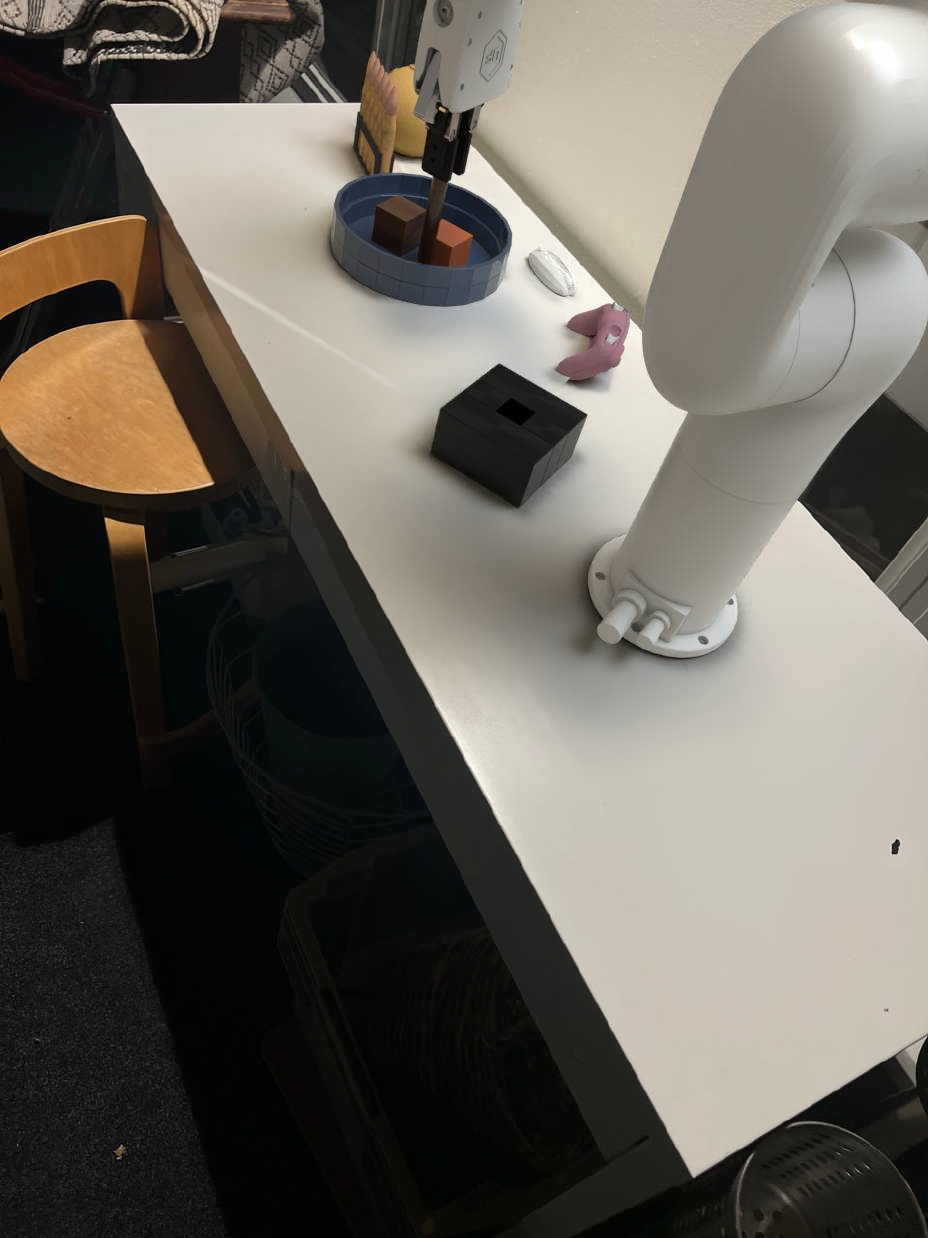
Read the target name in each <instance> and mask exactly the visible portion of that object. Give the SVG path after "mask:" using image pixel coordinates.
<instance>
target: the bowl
mask: <svg viewBox="0 0 928 1238" xmlns="http://www.w3.org/2000/svg"><path fill="white" fill-rule="evenodd" d="M432 177H433V176H427V175H423V174H416V173H408V172H393V173H377V174H372V175H367V174H366V175H363V176H360V177H357V178H355V179H353V180H351V181H349V182H347V183H345V184H344V185H343V186H342V187H341V188H340V189H339V190H338V191H337V193H336V196H335V199H334V202H333V210H332V219H331V220H332V221H331V231H330V245H331V251H332V254H333V256H334V258H335V259H336V261H337V263H338V264H339V265H340V267H341V268H342V269H343V270H344V271H346V272H347V273H348V274H349V275H350V276H351V277H352V278H353V279H355V280H356V281H358V282H360V283H361V284H363V285H364V286H365V287H368V288H370V289H372V290H373V291H375V292H377V293H380V294H382V295H385V296H387V297H390V298H392V299H396V300H399V301H402V302H403V301H404V302H408V303H413V304H418V305H422V306H425V305H426V306H437V307H438V306H439V307H452V306H463V305H465V306H466V305H469V304H471V303H475V302H478V301H481V300H485V298H487V297H489V296H490V295H491V294H493V293H495V292H496V291H497V290H498V288H499V287H500V285H501V283H502V281H503V279H504V276H505V272H506V268H507V264H508V261H509V257H510V254H511V250H512V246H513V231H512V229H511V227H510V226H511V225H510V224H509V221H508V220H507V219H506V217H505V216H504V215H503V213H501V211H500V210H499V209H498V208H497V207H495V206H494V205H493V204H492V203H490V202H489V201H488V200H486V199H485V198H484V197H482V196H480V195H479V194H476V193H475V192H473V191H471V190H469V189H467V188H465V187H462V186H460V185H457V184H455V183H452V182H450V181H449V182H448V187H447V191H446V196H445V201H444V206H443V211H442V216H441V220H442V219H444V220H446V221H448V222H449V223H451V224H453V225H455V226H457V227H459V228H460V229H462V230H464V231H466V232H468V233H470V234H471V235H473V238H472V242H471V247H470V251H469V256H468V260H467V265H466V266H459V267H445V266H433V265H426V264H421V263H417V262H416V260H417V254H418V248H419V246H418V247H417V248H415V249H413V250H411V251H410V252H408V253H406V254H404V255H402V256H398V255H397V254H395V253H393V252H391V251H390V250H388V249H386V248H384V247H383V246H381V245H379V244H377V243H375V242H374V241H372V232H373V225H374V218H375V210H376V205H378V204H380V203H382V202H384V201H386V200H388V199H390V198H392V197H394V196H396V195H400V196H402V197H404V198H406V199H408V200H409V201H411V202H413V203H415V204H417V205H418V206H420V207H422V208H424V209H427V204H428V198H429V193H430V188H431V183H432Z"/></svg>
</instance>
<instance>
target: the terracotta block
mask: <svg viewBox="0 0 928 1238" xmlns="http://www.w3.org/2000/svg"><path fill="white" fill-rule="evenodd" d="M421 235H422V232H421ZM472 238H473V235H471V234H470V233H468V232H466V231H464V230H462V229H460V228H459V227H457V226H455V225H453V224H451V223H449V222H448V221H446V220H444V219H442V220H441V221H440V226H439V231H438V235H437V240H436V245H435V250H434V255H433V260H432V263H431V264H428V265H433V266H445V267H459V266H466V265H467V260H468V256H469V251H470V247H471V242H472ZM420 240H421V237H420ZM419 246H420V243H419ZM418 251H419V248H418ZM417 256H418V254H417ZM416 262H417V263H420V262H419V261H418V260H416ZM421 264H422V263H421Z"/></svg>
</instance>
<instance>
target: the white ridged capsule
mask: <svg viewBox="0 0 928 1238" xmlns="http://www.w3.org/2000/svg"><path fill="white" fill-rule="evenodd" d="M527 260H528V263H529V266H530V268H531V270H532V271H533V273H534V274H535V275H536V277H537V278H538V279H539V280H540V281H541V282H542V283H543V284H544V285H545V286H546V287H548V289H550V290H551V291H552V292H554V293H556V294H557V295H559V296H562V297H564V296H575V295H576V294H577V292H578V289H579V287H578V282H577V280H576V277H575V275H574V273H573V272H572V270H571V269H570V267H569V266H568V264H566V262H565V261H564V260H563V259H562V257H560V256H559V255H557V254H556V253H554V252H553V251H551V250H548V249H544V248H543V247H542V246H541V247H540V246H539V247H536V248H535V250H532V251H530V252H529V253H528V255H527Z"/></svg>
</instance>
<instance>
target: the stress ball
mask: <svg viewBox="0 0 928 1238" xmlns="http://www.w3.org/2000/svg"><path fill="white" fill-rule="evenodd" d="M414 67H415V63H413V64H409V65H407V66H402V67H399V68H398V67H396V68H395V69H392V70H391V71H389V72H387V74H388V79H391V80H392V84H393V87H394V86H395V87H396V90H397V112H396V133H395V141H394V148H393V152H394V153H397V154H399V155H402V156H404V157H410V158H420V157H421V158H423V153H424V147H425V141H426V135H427V129H426V128H425V121H423V120H421V119H419V118H417V117H416V116H414V108H415V105H416V102H417V99H418V96H419V95H417V94H416V93H415V91H414V87H413V77H414ZM439 110H441V111H443V112H445V109H443V108H441V107H439Z"/></svg>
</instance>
